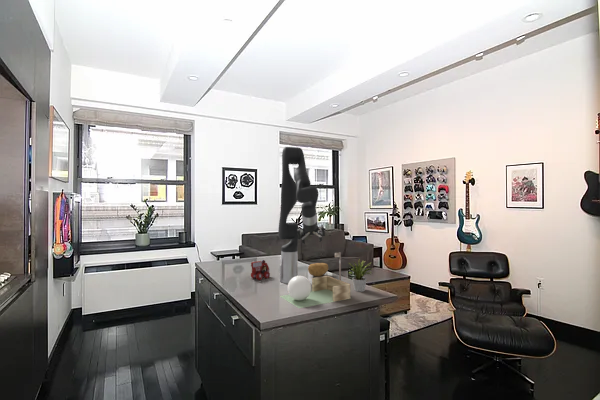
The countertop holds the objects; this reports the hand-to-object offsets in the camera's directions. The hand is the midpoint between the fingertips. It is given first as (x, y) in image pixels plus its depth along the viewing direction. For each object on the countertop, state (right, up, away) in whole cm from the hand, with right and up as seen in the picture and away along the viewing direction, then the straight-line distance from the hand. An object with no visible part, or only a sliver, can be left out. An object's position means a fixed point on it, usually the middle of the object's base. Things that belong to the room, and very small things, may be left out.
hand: (312, 241), depth 172 cm
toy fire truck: (-30, -24, +17) cm, 42 cm away
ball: (-7, -18, -25) cm, 32 cm away
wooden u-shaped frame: (+9, -23, -16) cm, 30 cm away
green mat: (+1, -24, -21) cm, 32 cm away
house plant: (+23, -24, -10) cm, 35 cm away
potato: (+5, -24, +22) cm, 33 cm away
